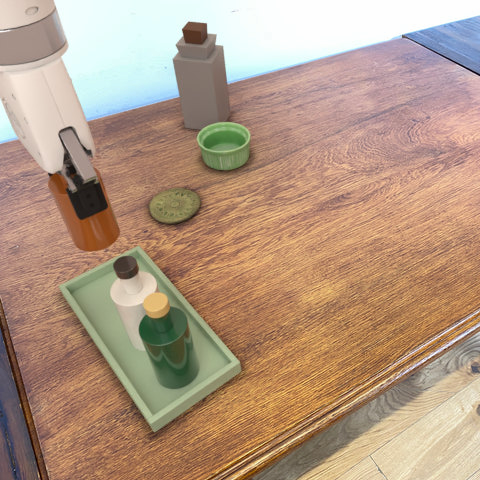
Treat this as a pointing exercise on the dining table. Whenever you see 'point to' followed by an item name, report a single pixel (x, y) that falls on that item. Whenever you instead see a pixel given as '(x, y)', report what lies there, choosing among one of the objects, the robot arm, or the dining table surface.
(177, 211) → the medallion
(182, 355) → the green glass bottle
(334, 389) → the dining table surface
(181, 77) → the perfume bottle
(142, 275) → the frosted bottle
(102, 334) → the tray
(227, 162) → the ramekin
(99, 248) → the amber bottle
